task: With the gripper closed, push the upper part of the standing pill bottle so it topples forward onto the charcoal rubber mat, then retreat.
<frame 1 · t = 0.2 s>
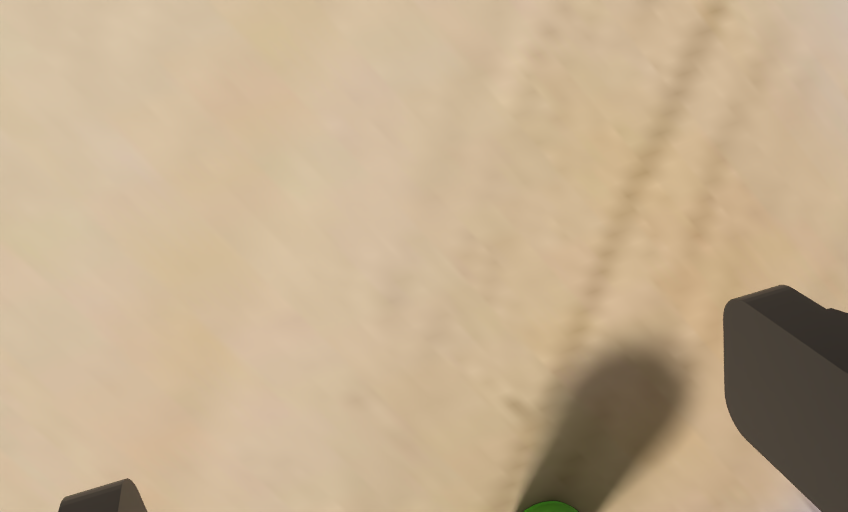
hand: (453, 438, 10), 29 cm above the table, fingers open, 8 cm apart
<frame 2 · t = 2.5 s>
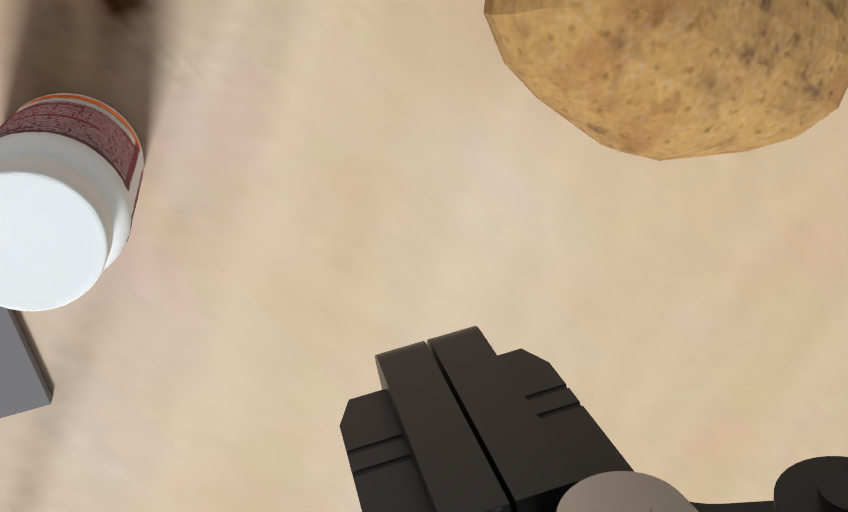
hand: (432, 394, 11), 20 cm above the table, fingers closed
potato: (612, 4, 31), on the table
pill bottle: (75, 156, 28), on the table
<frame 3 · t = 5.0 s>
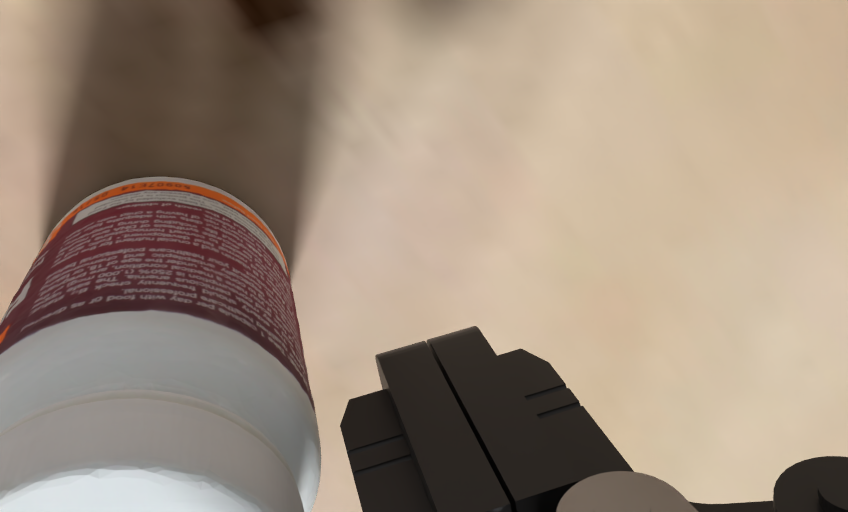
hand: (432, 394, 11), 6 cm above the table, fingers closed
pill bottle: (169, 282, 16), on the table, touching gripper
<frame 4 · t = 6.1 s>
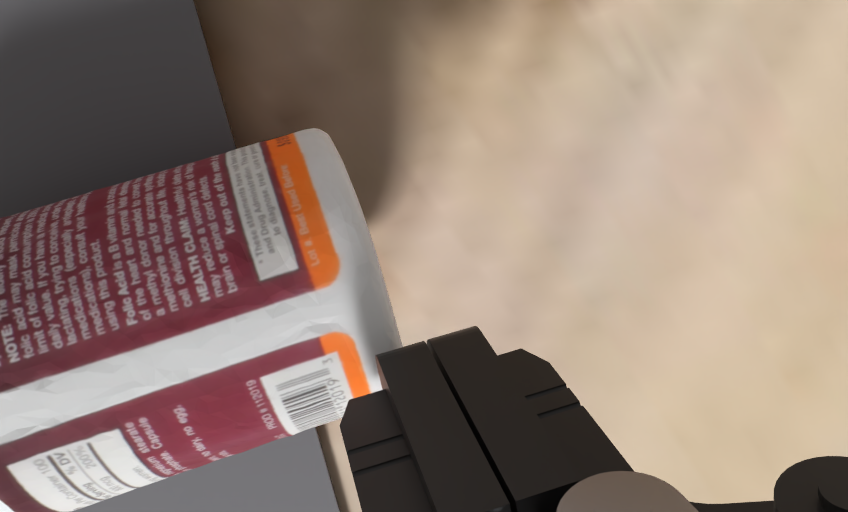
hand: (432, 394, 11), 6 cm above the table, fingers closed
mat: (34, 378, 16), on the table
pill bottle: (381, 256, 13), point 3 cm above the table, touching mat
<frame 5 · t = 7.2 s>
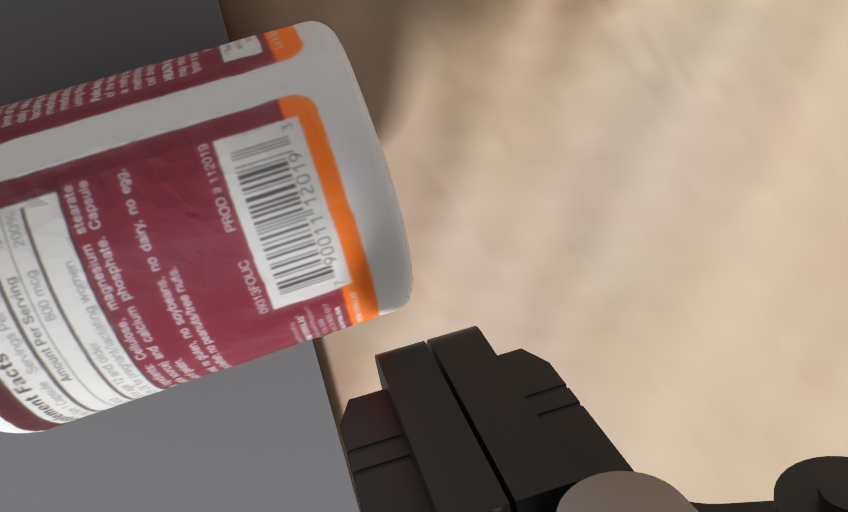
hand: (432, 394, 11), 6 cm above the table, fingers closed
mat: (59, 382, 16), on the table
pill bottle: (383, 162, 13), point 3 cm above the table, touching mat
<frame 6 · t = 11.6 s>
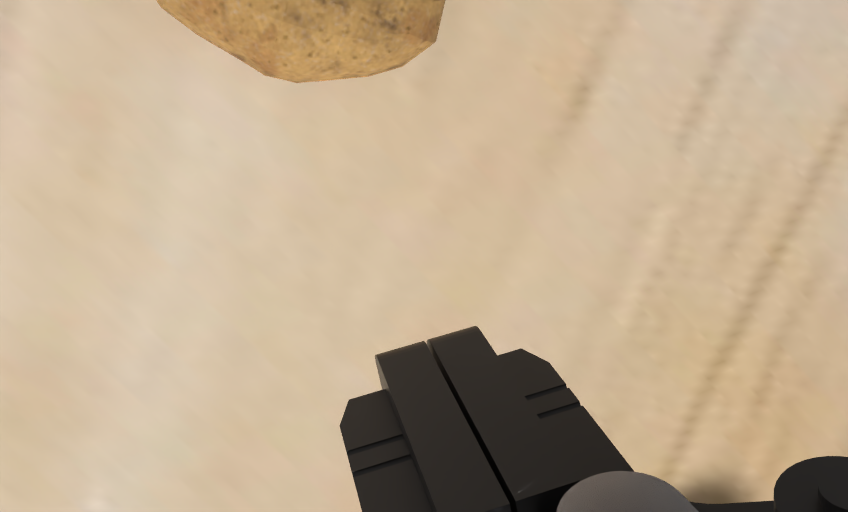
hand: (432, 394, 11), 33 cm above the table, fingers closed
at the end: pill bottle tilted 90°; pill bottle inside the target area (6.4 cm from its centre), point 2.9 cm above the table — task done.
